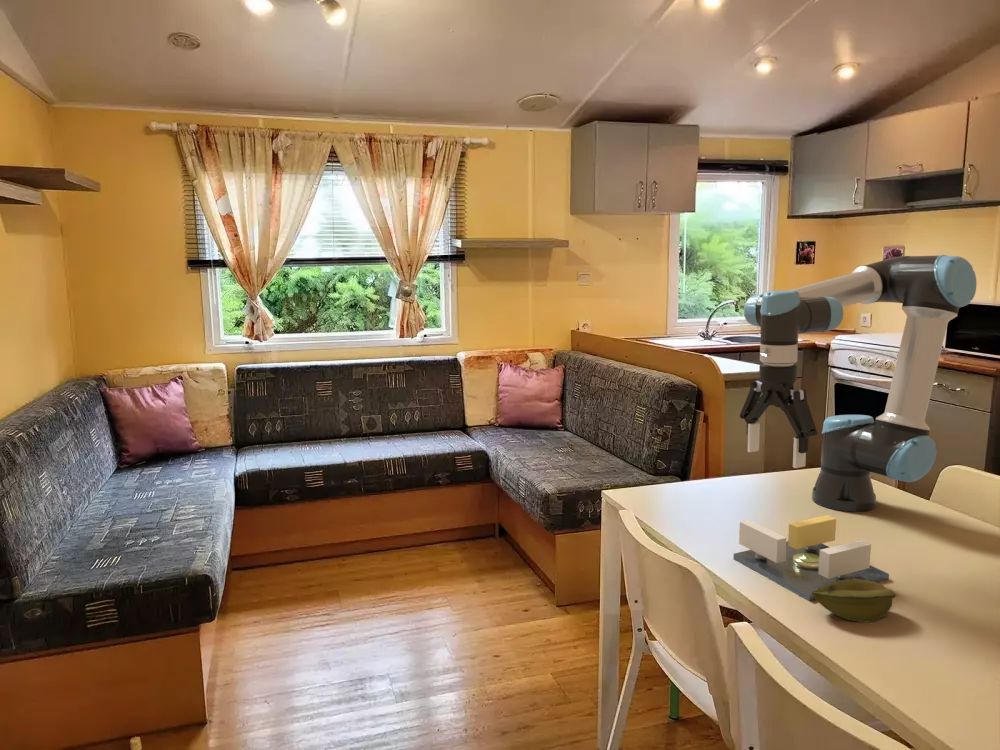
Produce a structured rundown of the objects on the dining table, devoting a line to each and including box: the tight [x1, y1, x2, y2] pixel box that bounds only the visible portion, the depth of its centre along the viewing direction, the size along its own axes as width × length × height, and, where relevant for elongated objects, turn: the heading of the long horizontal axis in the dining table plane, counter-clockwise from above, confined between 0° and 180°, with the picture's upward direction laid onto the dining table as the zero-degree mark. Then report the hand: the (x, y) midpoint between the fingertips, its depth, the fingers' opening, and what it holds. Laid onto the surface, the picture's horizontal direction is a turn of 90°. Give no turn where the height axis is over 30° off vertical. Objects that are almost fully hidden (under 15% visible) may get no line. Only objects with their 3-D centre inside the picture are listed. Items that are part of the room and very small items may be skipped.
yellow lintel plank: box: [787, 514, 837, 550], centre depth 153 cm, size 11×2×6 cm, turn 113°
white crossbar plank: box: [738, 519, 787, 563], centre depth 149 cm, size 11×2×6 cm, turn 23°
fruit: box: [812, 579, 897, 623], centre depth 129 cm, size 11×12×7 cm
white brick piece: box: [818, 539, 872, 579], centre depth 140 cm, size 11×2×6 cm, turn 113°
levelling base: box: [733, 540, 890, 602], centre depth 147 cm, size 21×21×3 cm
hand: (775, 458), depth 155 cm, fingers open, 13 cm apart
